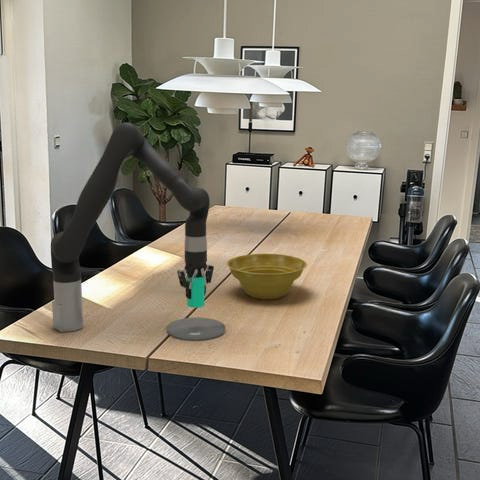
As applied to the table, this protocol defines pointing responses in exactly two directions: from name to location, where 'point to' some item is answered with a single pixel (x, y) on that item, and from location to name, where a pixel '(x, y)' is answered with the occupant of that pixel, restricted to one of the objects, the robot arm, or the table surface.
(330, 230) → the table surface
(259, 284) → the planter bowl
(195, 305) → the candle
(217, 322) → the candle tray
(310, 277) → the table surface
